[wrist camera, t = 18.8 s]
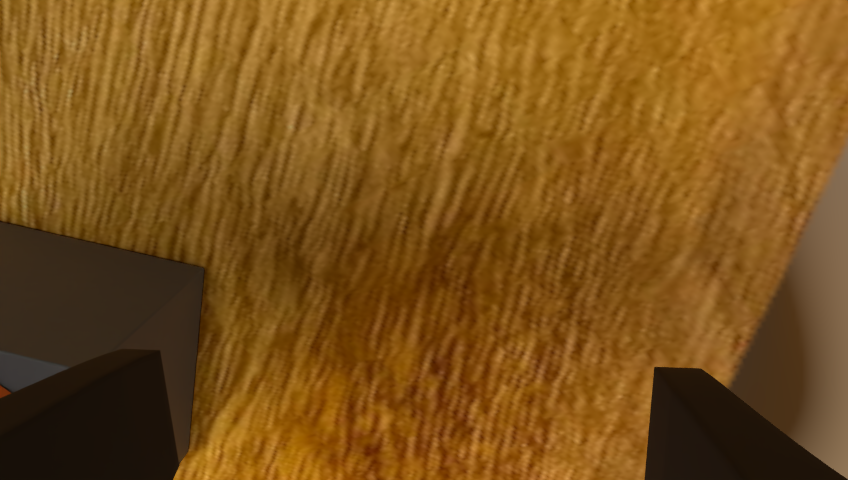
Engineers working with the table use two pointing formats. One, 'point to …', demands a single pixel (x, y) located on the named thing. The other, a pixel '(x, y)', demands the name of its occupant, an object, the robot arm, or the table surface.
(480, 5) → the table surface
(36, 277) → the cube
